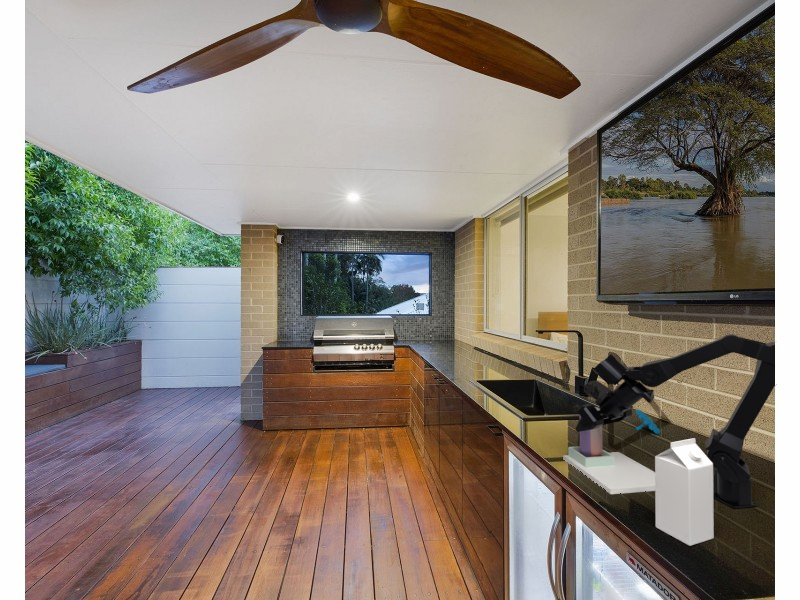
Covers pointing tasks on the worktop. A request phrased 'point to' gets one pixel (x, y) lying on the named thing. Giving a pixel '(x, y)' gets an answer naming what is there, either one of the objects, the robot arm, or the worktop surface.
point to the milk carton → (684, 493)
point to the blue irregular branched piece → (646, 422)
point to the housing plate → (613, 471)
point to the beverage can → (591, 442)
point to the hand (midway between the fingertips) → (586, 427)
